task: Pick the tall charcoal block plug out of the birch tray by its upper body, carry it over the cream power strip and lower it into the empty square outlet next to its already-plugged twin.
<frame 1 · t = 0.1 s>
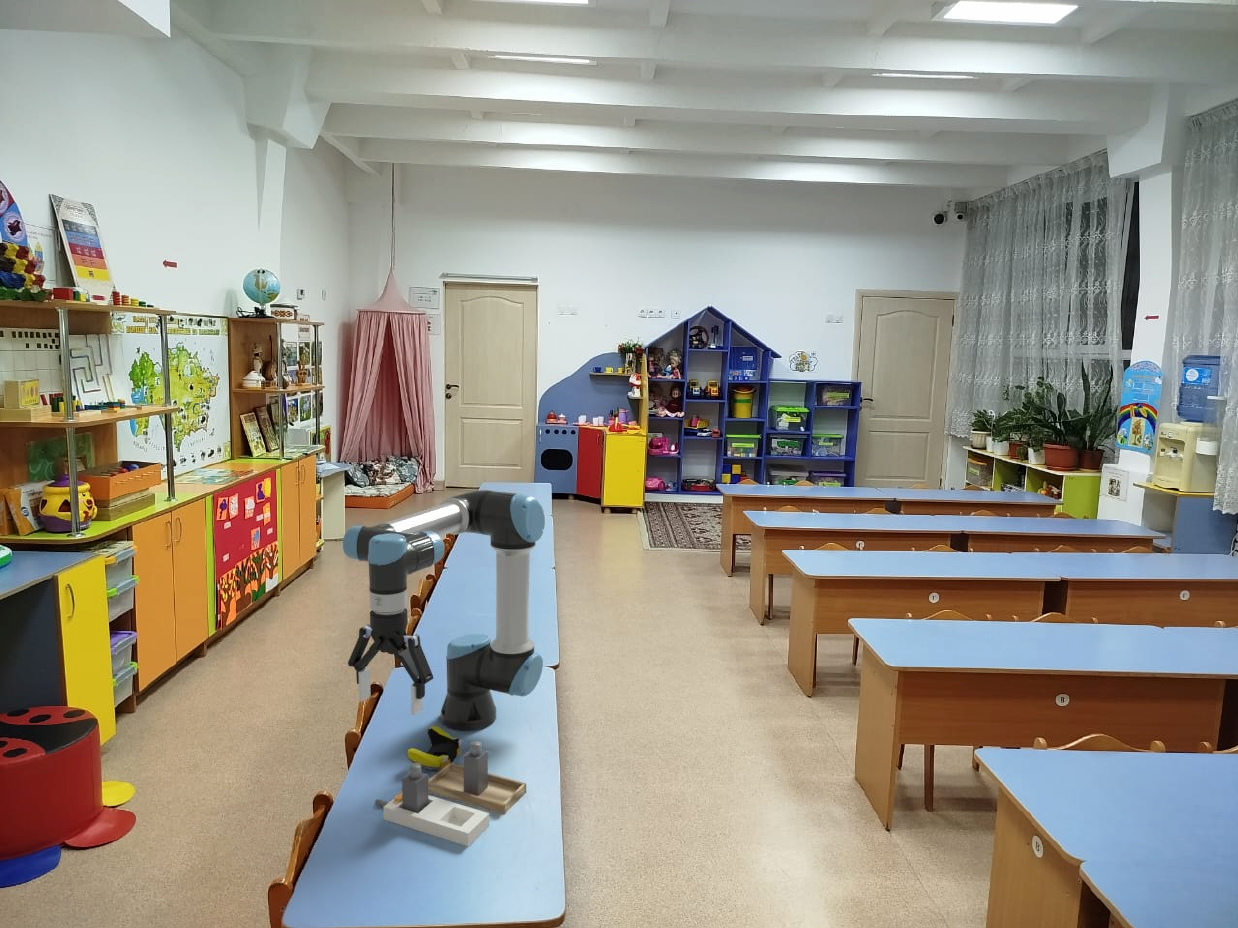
hand: (390, 705, 175), 28 cm above the table, fingers open, 13 cm apart
strip: (436, 822, 182), on the table
plug: (475, 789, 194), point 1 cm above the table, touching tray
tray: (475, 791, 194), on the table
twin plug: (415, 813, 184), resting on strip
gaming controller: (436, 760, 208), on the table
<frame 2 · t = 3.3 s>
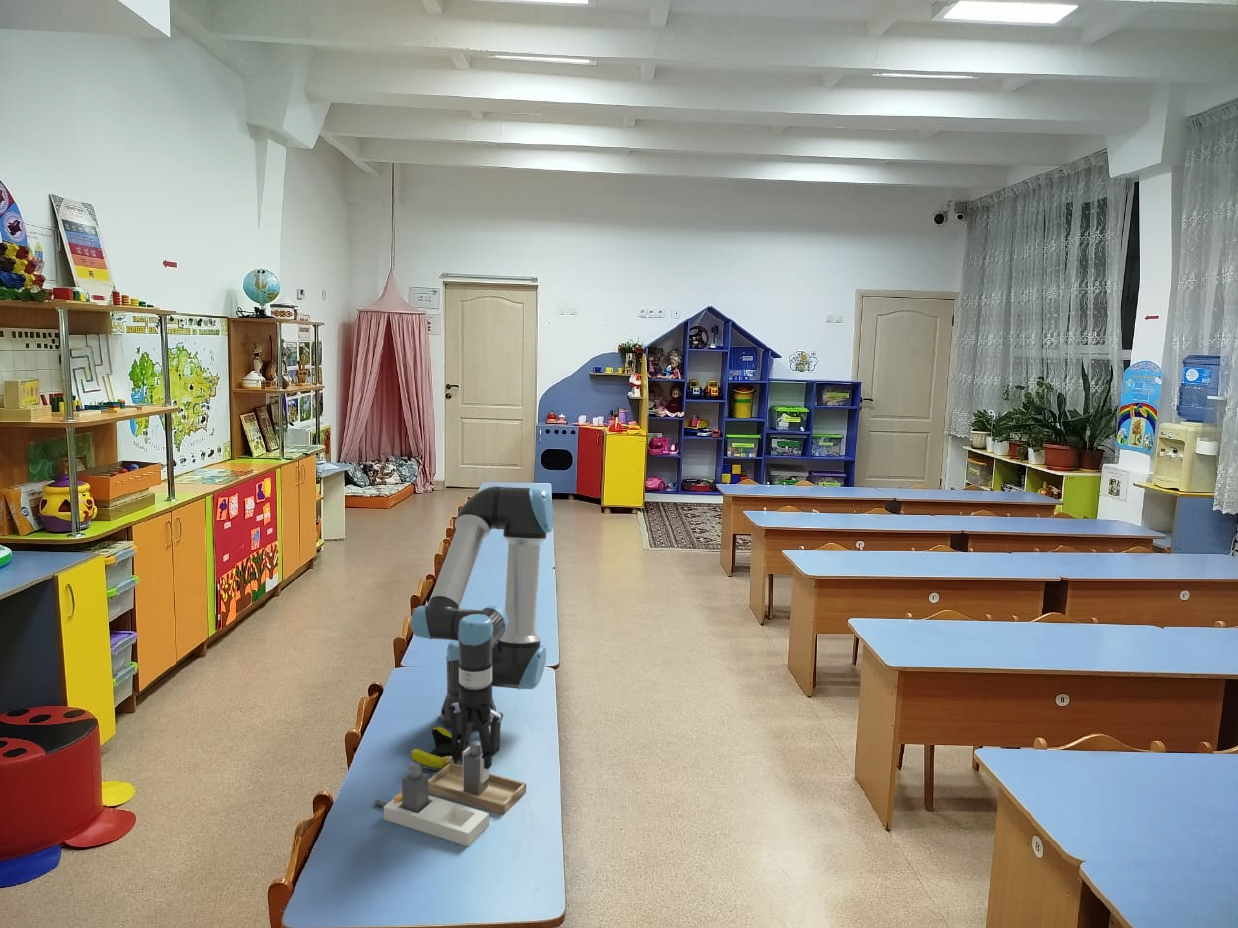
hand: (475, 777, 193), 4 cm above the table, fingers closed on plug, 4 cm apart
plug: (475, 789, 194), point 1 cm above the table, touching gripper, tray
gaming controller: (440, 761, 208), on the table
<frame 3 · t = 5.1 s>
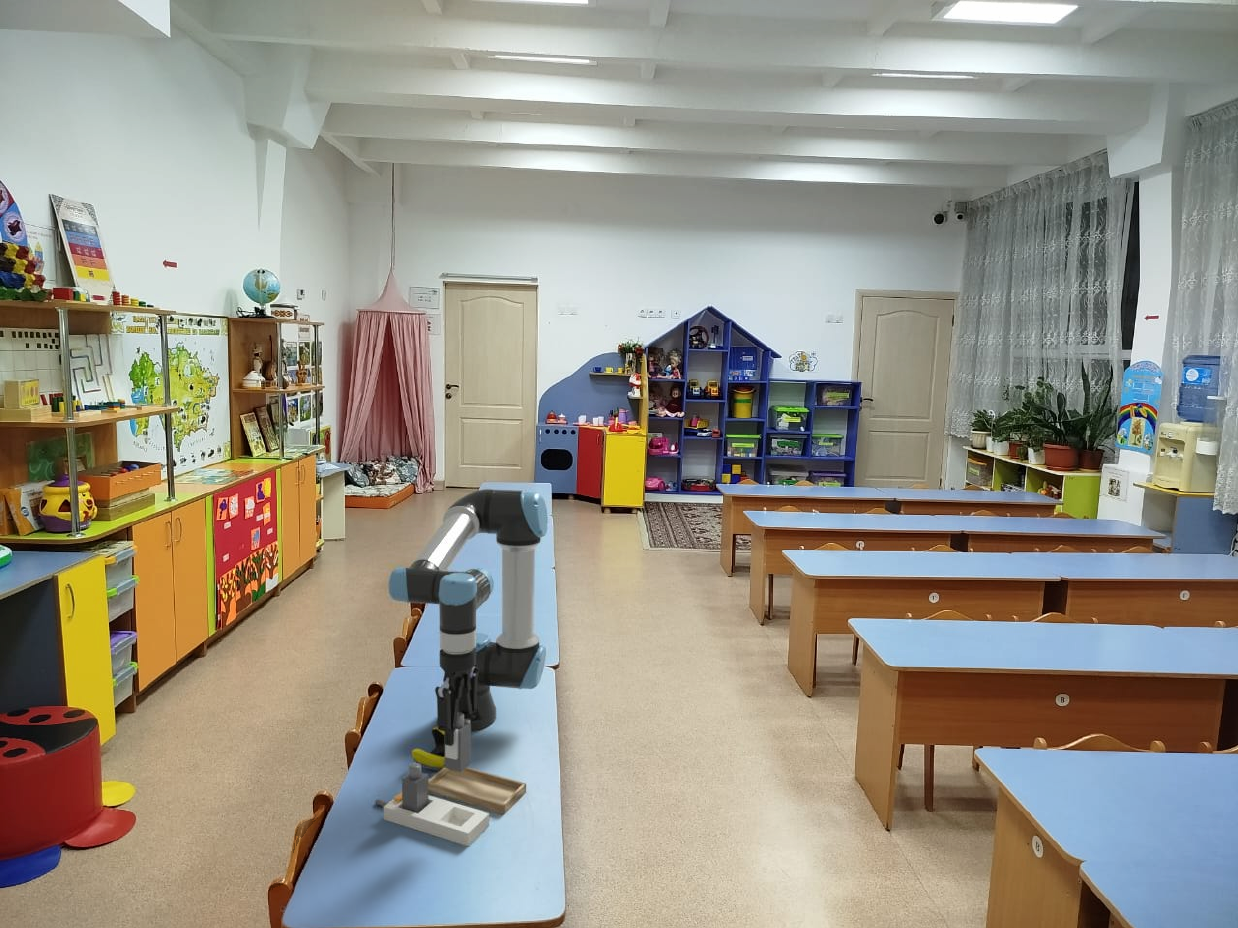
hand: (457, 752, 177), 17 cm above the table, fingers closed on plug, 4 cm apart
plug: (457, 765, 178), point 14 cm above the table, touching gripper
everything else where it was.
when the fingers open (4 cm above the table, at t = 7.1 s): plug stays where it is, resting on strip.
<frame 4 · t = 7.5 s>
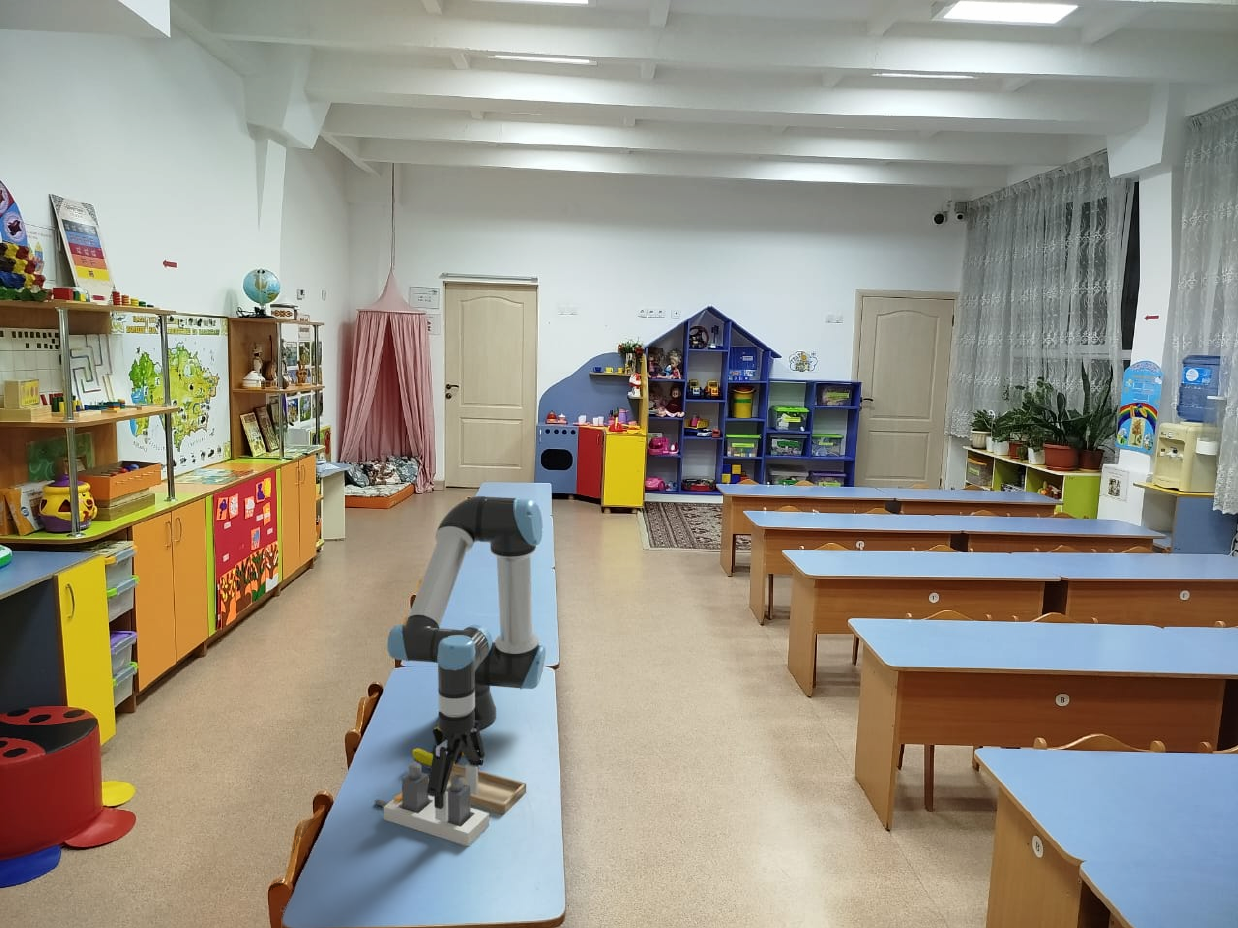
hand: (457, 805, 179), 5 cm above the table, fingers open, 10 cm apart
plug: (457, 826, 180), resting on strip
everything else where it was.
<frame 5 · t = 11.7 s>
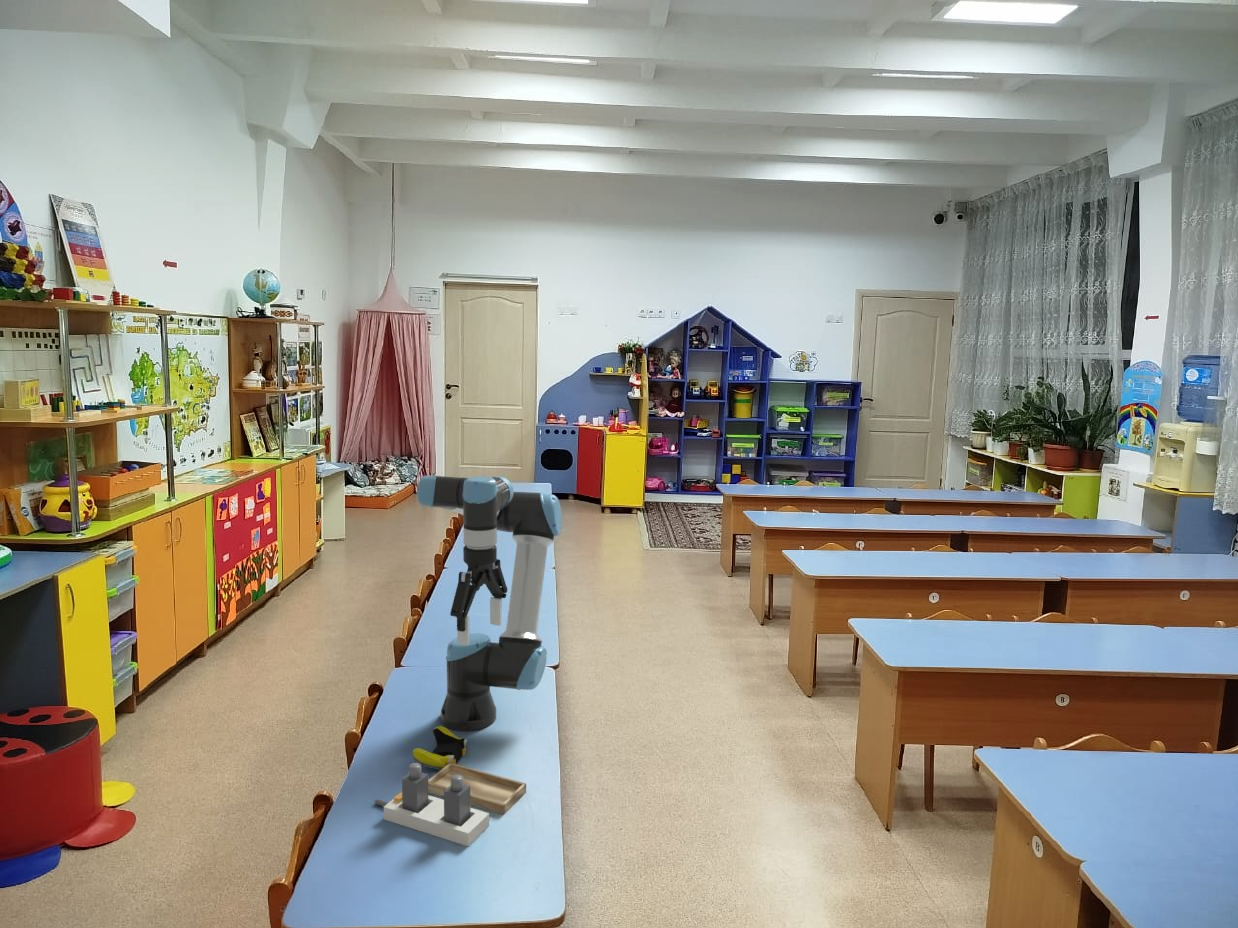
hand: (480, 633, 193), 37 cm above the table, fingers open, 13 cm apart
nothing on the table moved.
at the end: plug 0.0 cm from the target spot on the strip, point 0.5 cm above the strip's base; plug tilted 0°; the gripper is holding nothing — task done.
